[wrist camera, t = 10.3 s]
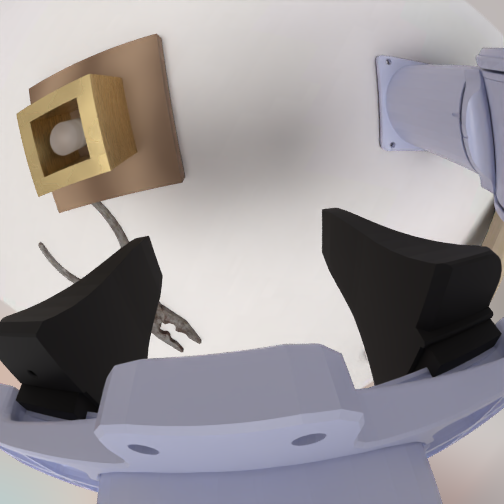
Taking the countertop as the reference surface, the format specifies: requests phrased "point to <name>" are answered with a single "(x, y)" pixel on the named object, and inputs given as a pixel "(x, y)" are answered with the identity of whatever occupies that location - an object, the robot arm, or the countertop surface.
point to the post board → (141, 117)
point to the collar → (94, 126)
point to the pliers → (162, 312)
